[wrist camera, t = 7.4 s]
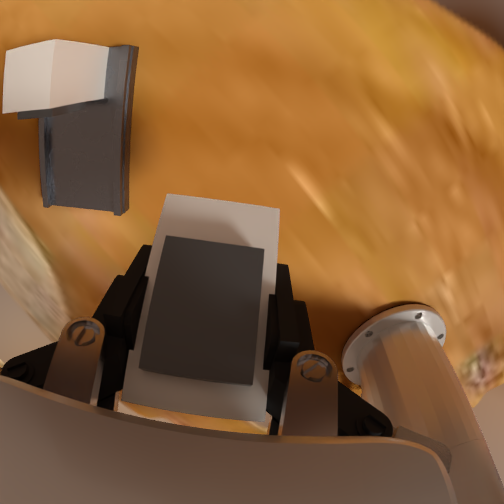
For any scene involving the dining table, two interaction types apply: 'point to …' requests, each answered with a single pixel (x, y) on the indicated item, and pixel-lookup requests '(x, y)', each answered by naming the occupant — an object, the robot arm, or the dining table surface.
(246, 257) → the white rectangular block
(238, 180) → the dining table surface
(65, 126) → the grey slab
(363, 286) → the dining table surface
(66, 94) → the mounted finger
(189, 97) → the dining table surface
